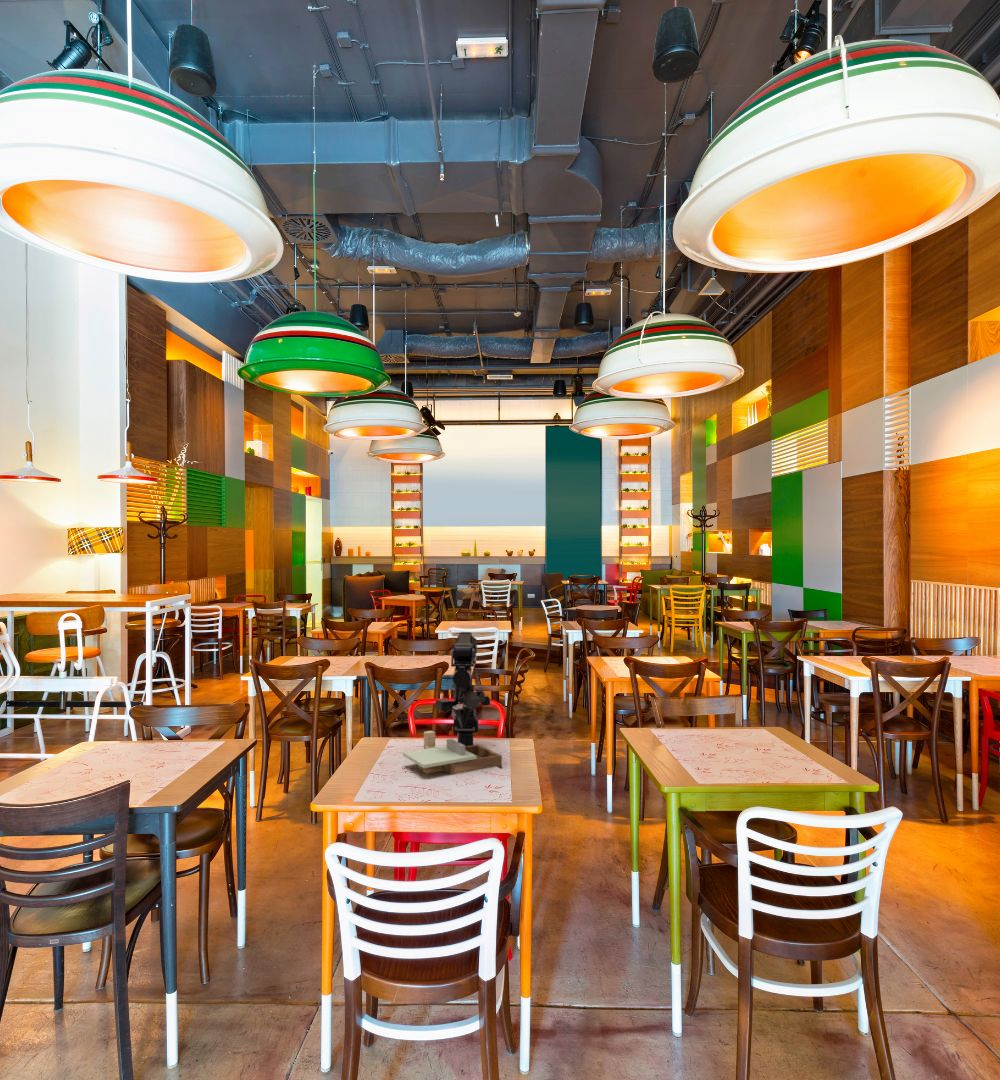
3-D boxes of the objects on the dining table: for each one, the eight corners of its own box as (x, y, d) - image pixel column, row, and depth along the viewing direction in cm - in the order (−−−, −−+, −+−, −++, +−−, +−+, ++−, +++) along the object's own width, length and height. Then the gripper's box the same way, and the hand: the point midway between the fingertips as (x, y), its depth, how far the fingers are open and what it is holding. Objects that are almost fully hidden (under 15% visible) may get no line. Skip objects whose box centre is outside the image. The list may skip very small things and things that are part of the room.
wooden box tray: (412, 767, 220) (412, 755, 220) (477, 756, 233) (477, 744, 233) (433, 781, 206) (433, 767, 206) (501, 768, 219) (501, 755, 219)
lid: (402, 755, 218) (402, 743, 218) (453, 747, 228) (453, 735, 228) (423, 768, 204) (423, 755, 205) (476, 758, 214) (476, 746, 215)
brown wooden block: (423, 757, 231) (423, 731, 232) (431, 756, 233) (431, 730, 233) (427, 759, 229) (427, 733, 229) (435, 758, 230) (435, 732, 231)
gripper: (449, 688, 212) (449, 737, 212) (498, 682, 222) (498, 729, 222) (434, 682, 222) (434, 729, 221) (482, 677, 231) (482, 722, 231)
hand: (462, 727), depth 224 cm, fingers closed
